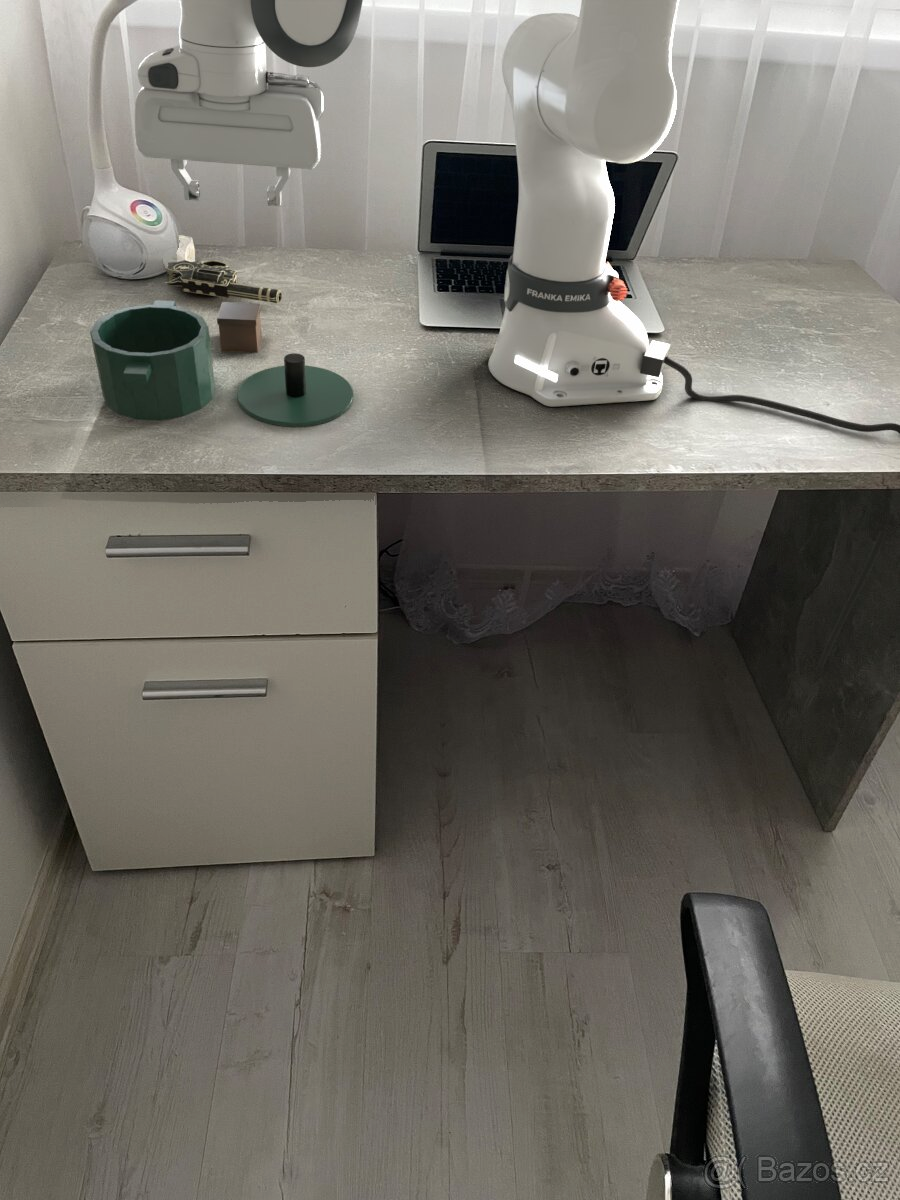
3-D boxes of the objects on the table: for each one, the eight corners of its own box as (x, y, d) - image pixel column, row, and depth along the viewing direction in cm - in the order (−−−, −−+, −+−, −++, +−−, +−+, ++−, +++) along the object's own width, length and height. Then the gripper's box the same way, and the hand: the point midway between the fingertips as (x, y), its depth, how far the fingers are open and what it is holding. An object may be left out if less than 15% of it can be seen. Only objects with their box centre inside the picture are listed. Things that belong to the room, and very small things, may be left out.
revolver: (305, 277, 140) (278, 314, 131) (172, 257, 142) (137, 292, 133) (303, 250, 137) (276, 286, 128) (168, 231, 139) (132, 265, 130)
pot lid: (355, 375, 119) (355, 333, 115) (351, 433, 109) (351, 389, 105) (245, 371, 118) (242, 328, 114) (231, 429, 108) (226, 385, 104)
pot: (224, 361, 119) (217, 297, 114) (202, 438, 106) (194, 370, 100) (122, 357, 118) (110, 292, 113) (87, 435, 105) (72, 365, 99)
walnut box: (262, 339, 124) (260, 303, 121) (258, 357, 121) (256, 320, 118) (225, 338, 124) (222, 301, 121) (220, 355, 121) (216, 318, 117)
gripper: (324, 69, 104) (325, 198, 113) (134, 53, 102) (151, 186, 112) (320, 84, 99) (322, 217, 108) (121, 68, 98) (139, 205, 107)
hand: (233, 201), depth 110 cm, fingers open, 8 cm apart
